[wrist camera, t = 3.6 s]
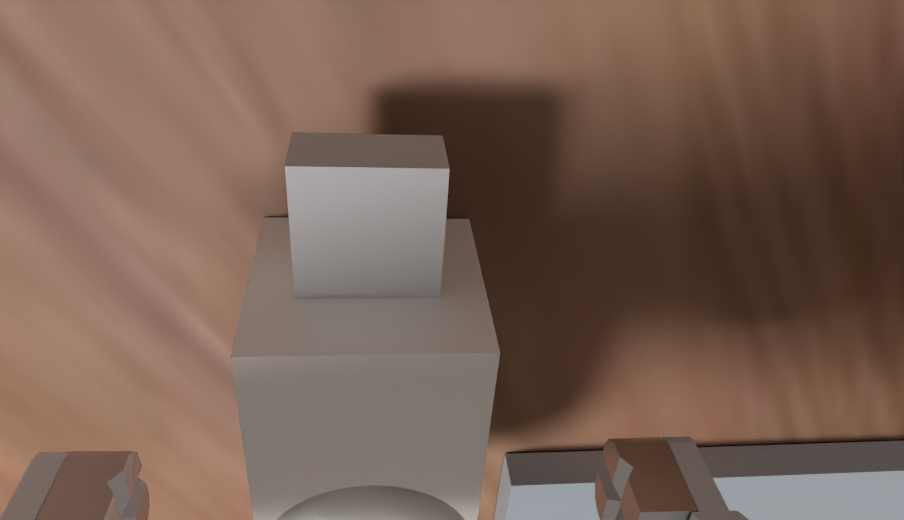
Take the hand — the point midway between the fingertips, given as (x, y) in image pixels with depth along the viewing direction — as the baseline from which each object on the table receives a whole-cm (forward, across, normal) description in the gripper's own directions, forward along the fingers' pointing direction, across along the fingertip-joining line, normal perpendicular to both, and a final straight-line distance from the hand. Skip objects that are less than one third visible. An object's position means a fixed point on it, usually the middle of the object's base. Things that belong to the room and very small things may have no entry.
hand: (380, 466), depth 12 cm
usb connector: (+4, 0, 0) cm, 4 cm away
